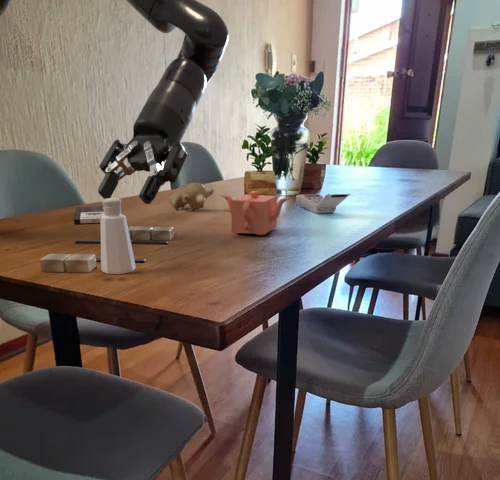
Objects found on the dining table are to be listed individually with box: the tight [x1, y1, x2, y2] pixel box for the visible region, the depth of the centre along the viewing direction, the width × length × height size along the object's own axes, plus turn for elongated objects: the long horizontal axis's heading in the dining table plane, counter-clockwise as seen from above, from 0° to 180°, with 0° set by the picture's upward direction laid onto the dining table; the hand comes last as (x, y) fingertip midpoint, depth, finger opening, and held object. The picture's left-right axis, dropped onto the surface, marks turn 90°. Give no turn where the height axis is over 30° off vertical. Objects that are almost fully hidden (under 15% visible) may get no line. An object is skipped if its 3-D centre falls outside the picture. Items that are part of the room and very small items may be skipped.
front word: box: [39, 253, 147, 273], centre depth 82 cm, size 15×7×2 cm, turn 86°
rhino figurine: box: [167, 182, 215, 211], centre depth 132 cm, size 8×7×12 cm
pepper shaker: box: [100, 197, 137, 275], centre depth 79 cm, size 5×5×11 cm
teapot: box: [220, 190, 291, 237], centre depth 106 cm, size 12×15×8 cm
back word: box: [75, 225, 175, 245], centre depth 100 cm, size 18×7×2 cm, turn 86°
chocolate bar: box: [73, 205, 104, 225], centre depth 124 cm, size 9×1×18 cm
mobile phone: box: [295, 193, 351, 215], centre depth 131 cm, size 6×6×25 cm
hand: (123, 198), depth 79 cm, fingers open, 8 cm apart
